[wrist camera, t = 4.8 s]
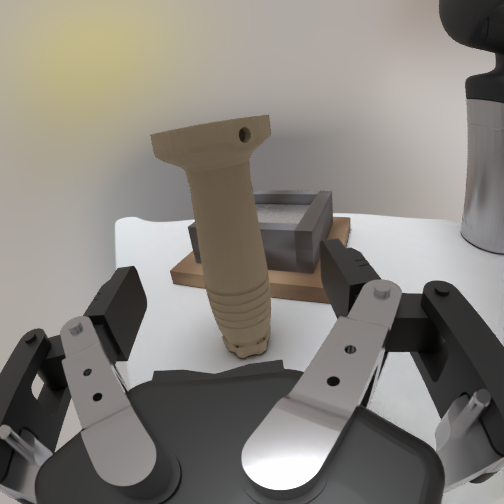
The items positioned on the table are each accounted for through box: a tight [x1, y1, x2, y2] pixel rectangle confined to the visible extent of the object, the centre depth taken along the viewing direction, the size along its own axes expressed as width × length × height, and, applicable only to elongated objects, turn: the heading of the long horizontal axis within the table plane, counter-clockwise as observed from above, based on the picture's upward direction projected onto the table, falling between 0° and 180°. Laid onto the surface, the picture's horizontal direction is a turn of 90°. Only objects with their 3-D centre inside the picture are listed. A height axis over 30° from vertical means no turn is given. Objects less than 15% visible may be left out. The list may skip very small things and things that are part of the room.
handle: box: [151, 115, 271, 358], centre depth 18 cm, size 5×6×15 cm
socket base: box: [170, 191, 350, 303], centre depth 32 cm, size 16×16×6 cm
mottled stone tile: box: [255, 204, 310, 224], centre depth 32 cm, size 8×8×1 cm
